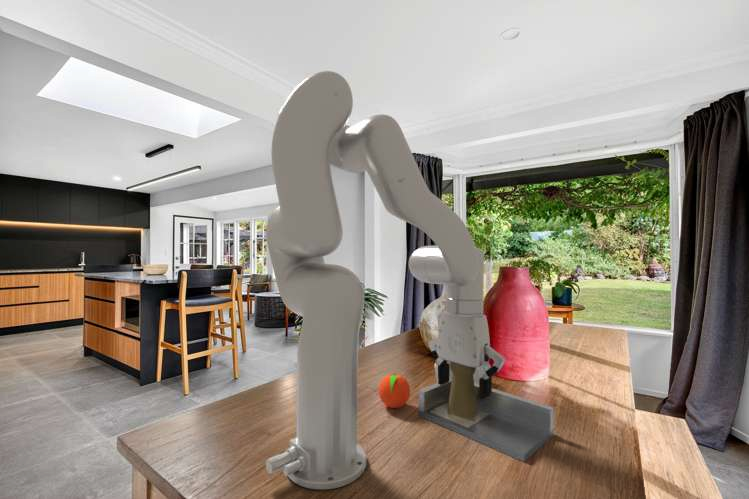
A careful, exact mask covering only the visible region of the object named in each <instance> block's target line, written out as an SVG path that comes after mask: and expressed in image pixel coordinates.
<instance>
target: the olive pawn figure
mask: <svg viewBox="0 0 749 499" xmlns="http://www.w3.org/2000/svg"><path fill="white" fill-rule="evenodd" d="M450 368H451V370H452V372H453V375H452V382H451V389H450V396H449V403H448V411H449V412H450V413H451V414H453V415H455V416H459V417H473V416H476V415H477V413H478V411H477V403H476V394H475V386H474V378H473V374H474V373H475V370H476V368H471V367H467V366H463V365H460V364H457V363H453V362H450Z"/></svg>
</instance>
